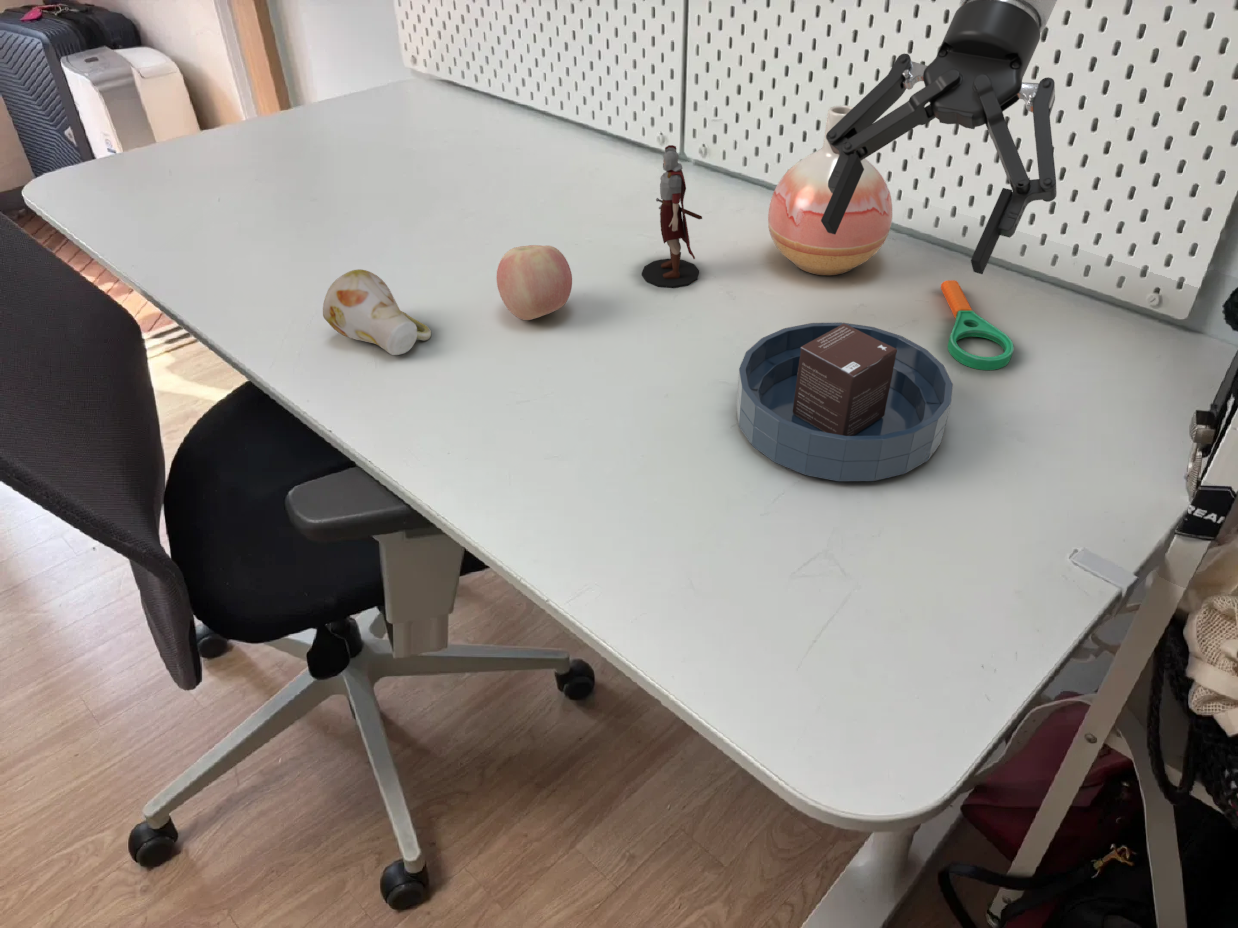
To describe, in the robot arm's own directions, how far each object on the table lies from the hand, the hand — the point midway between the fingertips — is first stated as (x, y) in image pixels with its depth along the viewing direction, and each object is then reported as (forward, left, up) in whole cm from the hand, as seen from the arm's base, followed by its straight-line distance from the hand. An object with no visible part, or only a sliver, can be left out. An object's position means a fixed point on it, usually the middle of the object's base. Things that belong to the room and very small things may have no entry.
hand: (899, 247), depth 81 cm
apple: (+35, +9, -14) cm, 39 cm away
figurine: (+28, -7, -14) cm, 32 cm away
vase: (+15, -19, -14) cm, 28 cm away
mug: (+45, +22, -14) cm, 52 cm away
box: (0, +8, -14) cm, 16 cm away
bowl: (0, +8, -14) cm, 16 cm away
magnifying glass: (-4, -14, -14) cm, 20 cm away
